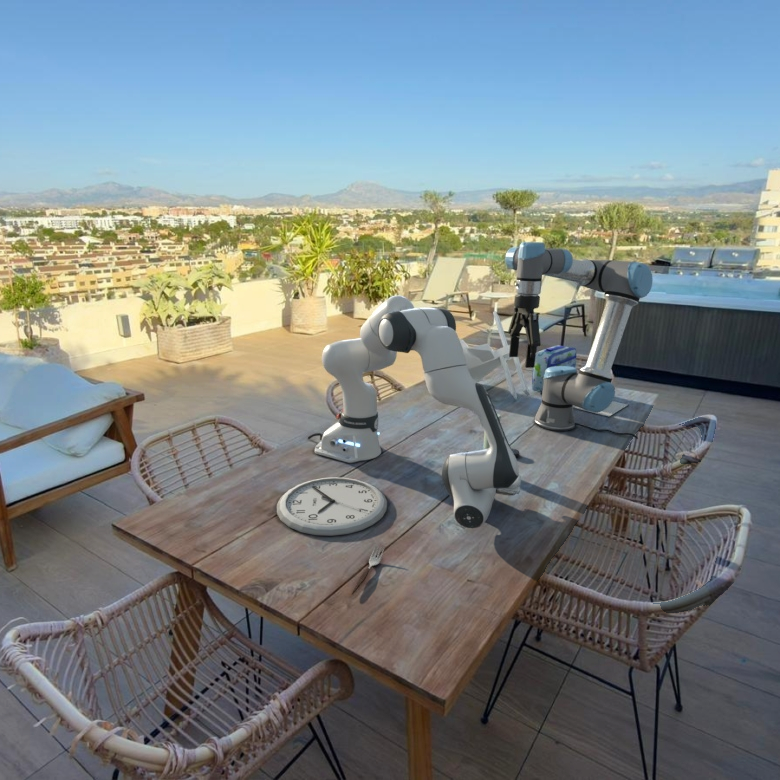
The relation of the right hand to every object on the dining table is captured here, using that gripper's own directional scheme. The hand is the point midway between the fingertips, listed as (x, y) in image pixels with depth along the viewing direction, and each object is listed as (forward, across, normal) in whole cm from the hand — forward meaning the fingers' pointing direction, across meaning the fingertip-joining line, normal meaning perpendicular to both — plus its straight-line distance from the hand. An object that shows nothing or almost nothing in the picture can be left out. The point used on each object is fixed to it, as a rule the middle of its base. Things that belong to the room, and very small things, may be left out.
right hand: (521, 361), depth 166 cm
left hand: (+26, +21, -16) cm, 37 cm away
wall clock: (+33, +26, -61) cm, 74 cm away
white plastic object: (+33, -70, +11) cm, 77 cm away
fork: (+33, +57, -55) cm, 85 cm away
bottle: (+33, +12, -12) cm, 36 cm away
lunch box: (+33, -69, +46) cm, 89 cm away
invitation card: (+33, -44, +57) cm, 80 cm away
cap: (+31, 0, 0) cm, 31 cm away
